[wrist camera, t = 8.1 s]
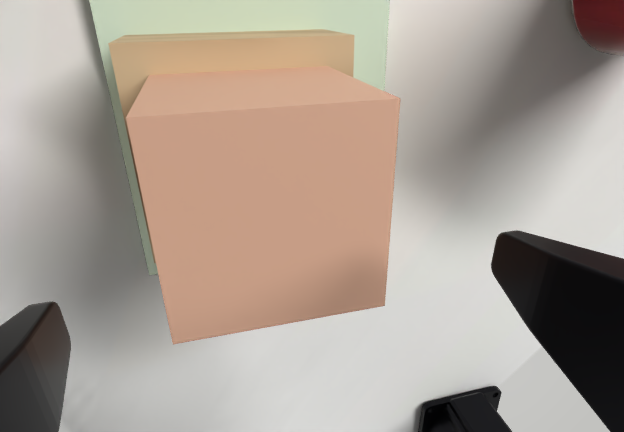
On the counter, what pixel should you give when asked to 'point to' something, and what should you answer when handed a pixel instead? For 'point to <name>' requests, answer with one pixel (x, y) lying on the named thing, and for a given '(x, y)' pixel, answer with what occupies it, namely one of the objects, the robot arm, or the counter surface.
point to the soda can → (601, 24)
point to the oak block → (221, 58)
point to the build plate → (236, 18)
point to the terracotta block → (265, 194)
